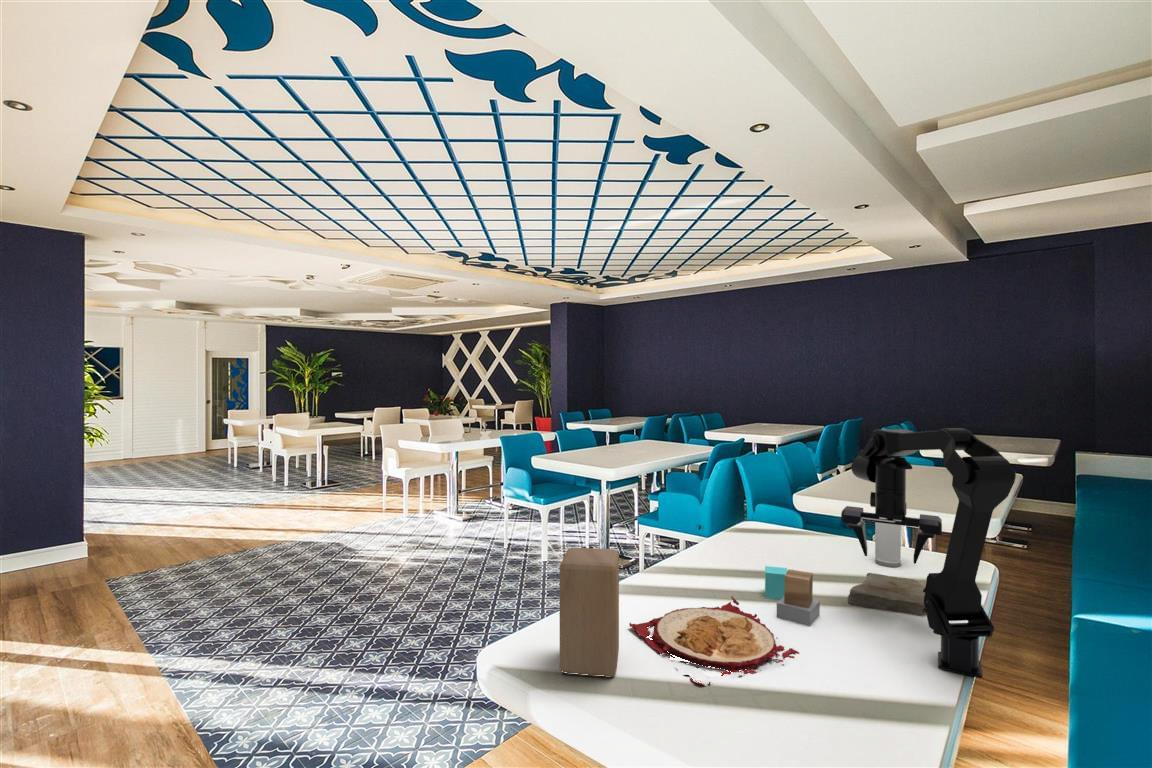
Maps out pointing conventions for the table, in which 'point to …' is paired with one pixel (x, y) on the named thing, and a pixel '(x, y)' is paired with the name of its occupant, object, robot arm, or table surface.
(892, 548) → the travel mug
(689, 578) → the table surface
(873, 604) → the marble piece
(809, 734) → the table surface
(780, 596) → the teal cube
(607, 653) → the block
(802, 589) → the walnut cube
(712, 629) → the plate with food
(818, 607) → the grey slab
